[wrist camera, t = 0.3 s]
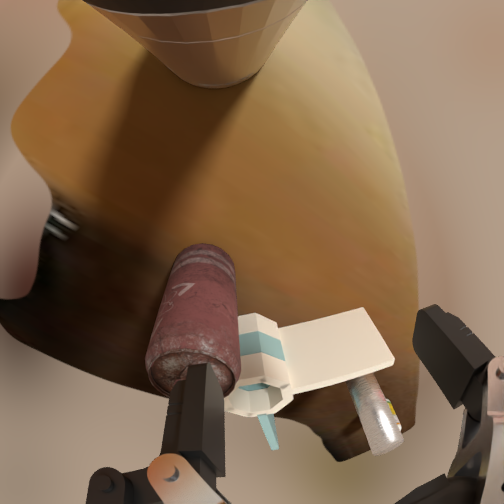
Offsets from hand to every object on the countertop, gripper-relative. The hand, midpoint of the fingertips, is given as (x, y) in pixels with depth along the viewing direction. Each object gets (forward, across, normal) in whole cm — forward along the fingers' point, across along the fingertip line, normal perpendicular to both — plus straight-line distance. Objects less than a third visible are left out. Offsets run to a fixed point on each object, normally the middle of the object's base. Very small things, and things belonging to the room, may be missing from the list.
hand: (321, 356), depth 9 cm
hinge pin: (+19, -8, +20) cm, 29 cm away
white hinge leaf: (+19, -1, +14) cm, 24 cm away
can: (+18, +7, +4) cm, 20 cm away
